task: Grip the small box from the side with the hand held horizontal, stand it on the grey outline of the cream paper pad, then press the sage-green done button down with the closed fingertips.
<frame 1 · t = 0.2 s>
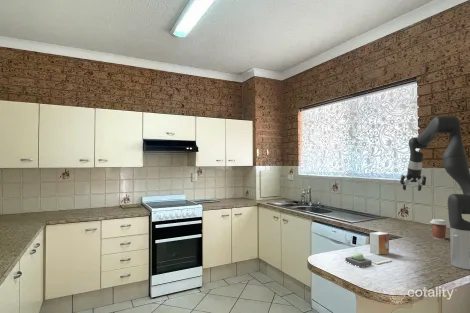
hand: (411, 190, 182), 31 cm above the worktop, tool tilted 20°, fingers open, 8 cm apart
done button: (358, 257, 129), point 3 cm above the worktop, slide at 0.0 cm
paper pad: (374, 259, 134), on the worktop
small box: (379, 253, 145), on the worktop
coffee cup: (439, 238, 177), on the worktop
button housing: (358, 263, 129), on the worktop
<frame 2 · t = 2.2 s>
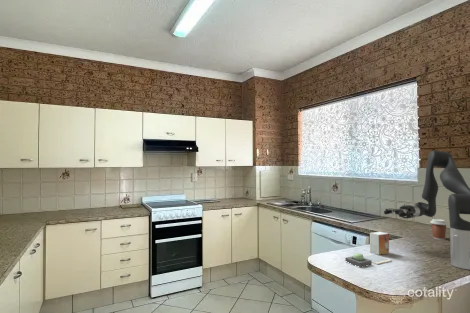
hand: (392, 213, 151), 20 cm above the worktop, tool horizontal, fingers open, 8 cm apart
nothing on the worktop moved.
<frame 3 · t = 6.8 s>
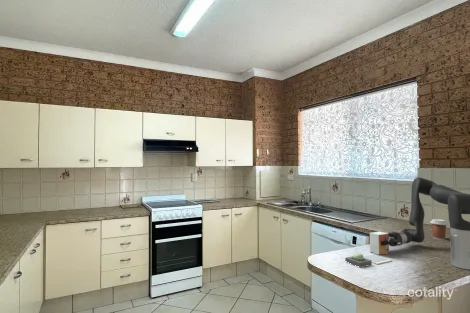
hand: (376, 241, 144), 6 cm above the worktop, tool horizontal, fingers closed on small box, 6 cm apart
small box: (379, 253, 145), on the worktop, touching gripper
everything else where it was.
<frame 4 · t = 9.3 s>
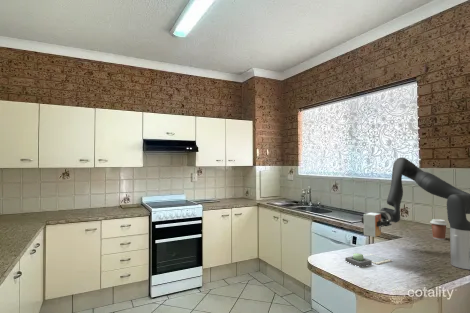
hand: (370, 223, 135), 18 cm above the worktop, tool horizontal, fingers closed on small box, 6 cm apart
small box: (372, 235, 136), point 11 cm above the worktop, touching gripper
everything else where it was.
when the fingers open (7 cm above the worktop, at t = 11.9 s): small box stays where it is, resting on paper pad.
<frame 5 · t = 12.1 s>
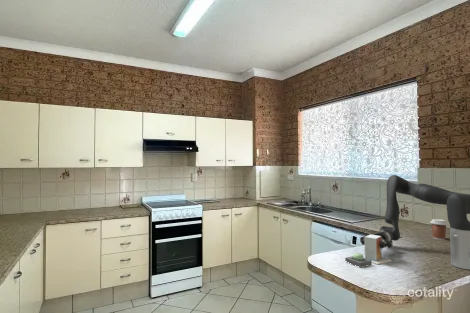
hand: (371, 244, 134), 7 cm above the worktop, tool horizontal, fingers open, 8 cm apart
small box: (373, 258, 135), resting on paper pad
everything else where it was.
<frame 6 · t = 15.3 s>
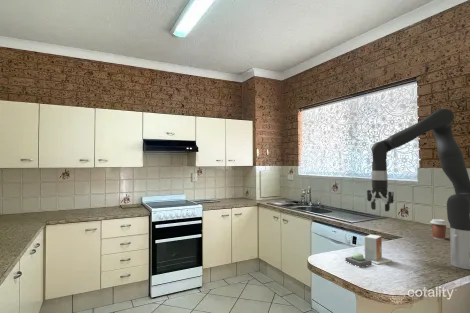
hand: (380, 210, 145), 23 cm above the worktop, tool pointing down, fingers open, 7 cm apart
nothing on the worktop moved.
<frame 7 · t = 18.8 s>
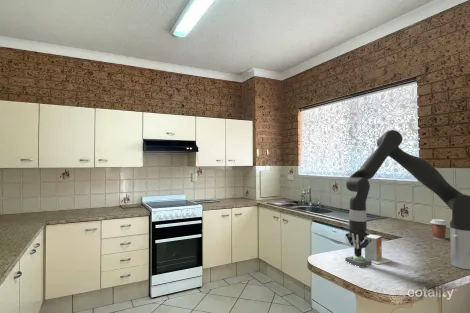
hand: (357, 256, 129), 3 cm above the worktop, tool pointing down, fingers closed
done button: (358, 258, 129), point 2 cm above the worktop, slide at 0.7 cm, touching gripper
everything else where it was.
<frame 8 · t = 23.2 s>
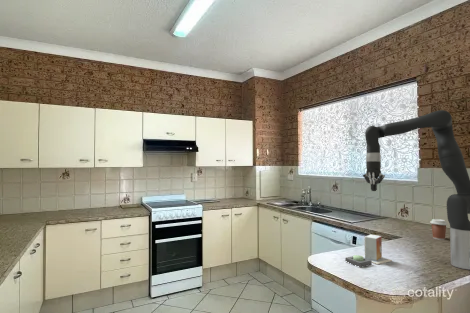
hand: (373, 190, 156), 32 cm above the worktop, tool pointing down, fingers closed
done button: (358, 259, 129), point 2 cm above the worktop, slide at 0.9 cm
everything else where it was.
at the end: small box inside the target area on the paper pad (0.5 cm from its centre), point 0.4 cm above the paper pad's base; small box tilted 0°; done button slide at 0.9 cm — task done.
